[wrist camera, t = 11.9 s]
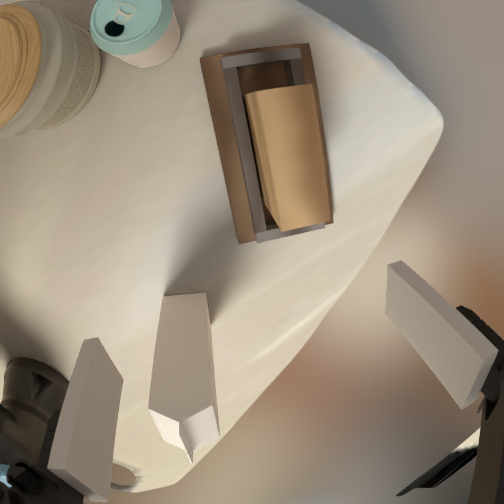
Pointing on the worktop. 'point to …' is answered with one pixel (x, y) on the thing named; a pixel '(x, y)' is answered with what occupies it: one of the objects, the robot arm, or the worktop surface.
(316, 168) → the tan wooden block
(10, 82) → the jar
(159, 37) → the can
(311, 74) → the wooden tray
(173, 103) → the worktop surface
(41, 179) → the worktop surface
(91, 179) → the worktop surface
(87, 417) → the robot arm
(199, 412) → the milk
